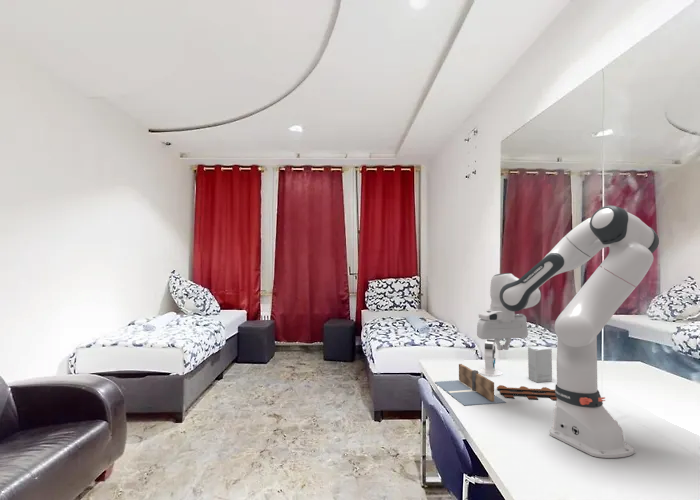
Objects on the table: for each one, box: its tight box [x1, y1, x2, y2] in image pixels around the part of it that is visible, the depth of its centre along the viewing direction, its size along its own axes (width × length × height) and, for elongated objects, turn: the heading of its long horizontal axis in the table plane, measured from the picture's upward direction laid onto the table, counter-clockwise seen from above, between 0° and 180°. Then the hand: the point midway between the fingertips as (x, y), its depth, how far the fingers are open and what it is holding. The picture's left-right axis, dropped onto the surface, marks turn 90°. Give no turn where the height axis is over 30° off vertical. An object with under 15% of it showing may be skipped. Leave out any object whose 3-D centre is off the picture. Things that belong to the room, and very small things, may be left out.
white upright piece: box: [477, 339, 503, 377], centre depth 187 cm, size 12×11×15 cm
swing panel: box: [476, 373, 495, 401], centre depth 154 cm, size 12×1×7 cm, turn 10°
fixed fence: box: [458, 363, 479, 391], centre depth 167 cm, size 15×2×8 cm, turn 10°
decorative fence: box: [496, 384, 557, 402], centre depth 159 cm, size 23×2×15 cm
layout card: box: [434, 379, 507, 407], centre depth 160 cm, size 28×17×1 cm, turn 10°
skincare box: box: [527, 345, 553, 383], centre depth 175 cm, size 8×6×15 cm
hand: (502, 349), depth 153 cm, fingers closed
